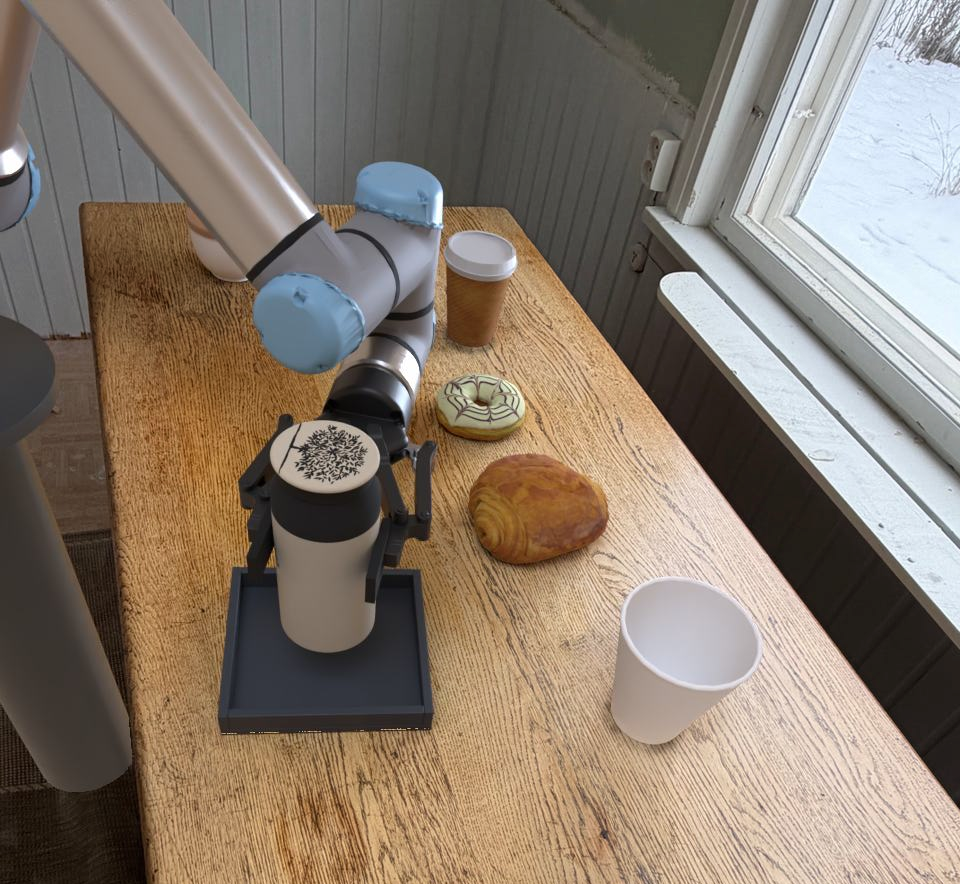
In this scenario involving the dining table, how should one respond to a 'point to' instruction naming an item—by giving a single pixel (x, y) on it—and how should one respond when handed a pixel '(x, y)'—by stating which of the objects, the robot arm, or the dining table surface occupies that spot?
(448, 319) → the disposable coffee cup
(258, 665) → the serving tray
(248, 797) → the dining table surface
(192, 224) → the trinket box
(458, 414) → the decorated donut
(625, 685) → the cup
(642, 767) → the dining table surface
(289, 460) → the travel mug
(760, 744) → the dining table surface
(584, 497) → the croissant
